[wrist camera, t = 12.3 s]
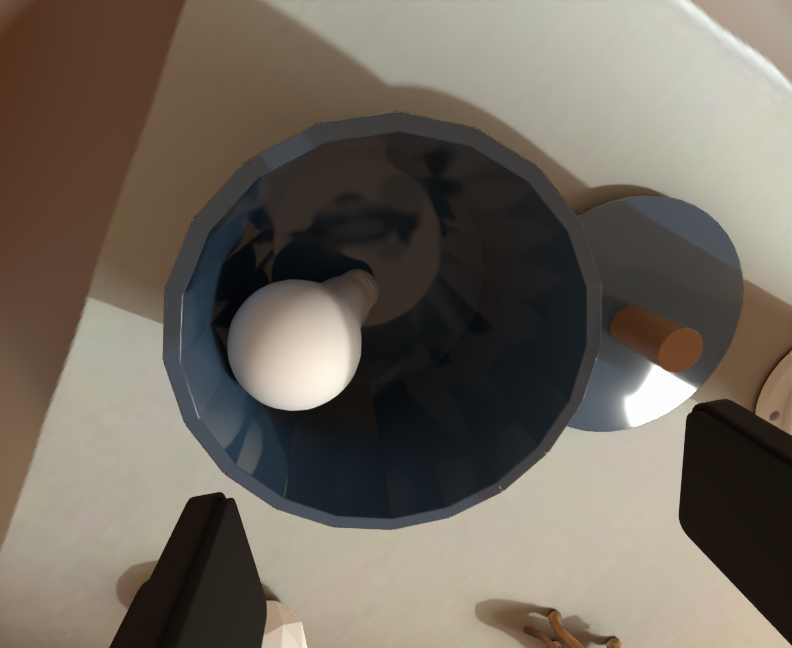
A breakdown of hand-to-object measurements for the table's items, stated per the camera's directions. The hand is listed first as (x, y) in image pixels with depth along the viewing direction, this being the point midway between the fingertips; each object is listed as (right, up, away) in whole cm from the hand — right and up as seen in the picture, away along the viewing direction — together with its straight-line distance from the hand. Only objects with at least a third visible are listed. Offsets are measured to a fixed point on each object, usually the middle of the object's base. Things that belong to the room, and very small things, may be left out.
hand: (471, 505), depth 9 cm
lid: (+14, +4, +22) cm, 27 cm away
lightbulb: (-3, +6, +19) cm, 20 cm away
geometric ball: (-12, -20, +27) cm, 36 cm away
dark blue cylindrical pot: (-3, +7, +20) cm, 21 cm away
